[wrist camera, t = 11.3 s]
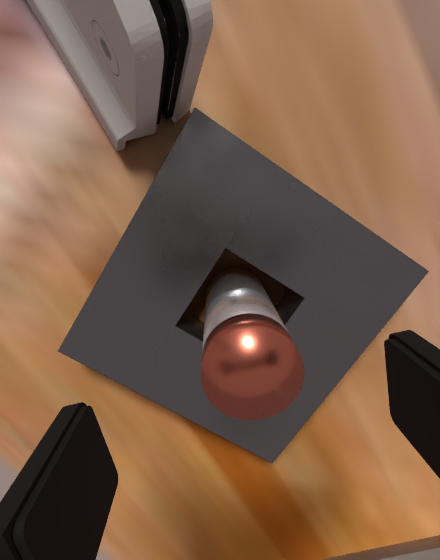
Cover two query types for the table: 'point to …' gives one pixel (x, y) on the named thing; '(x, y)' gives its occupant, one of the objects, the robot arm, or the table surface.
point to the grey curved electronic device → (130, 57)
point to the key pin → (247, 350)
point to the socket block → (257, 251)
